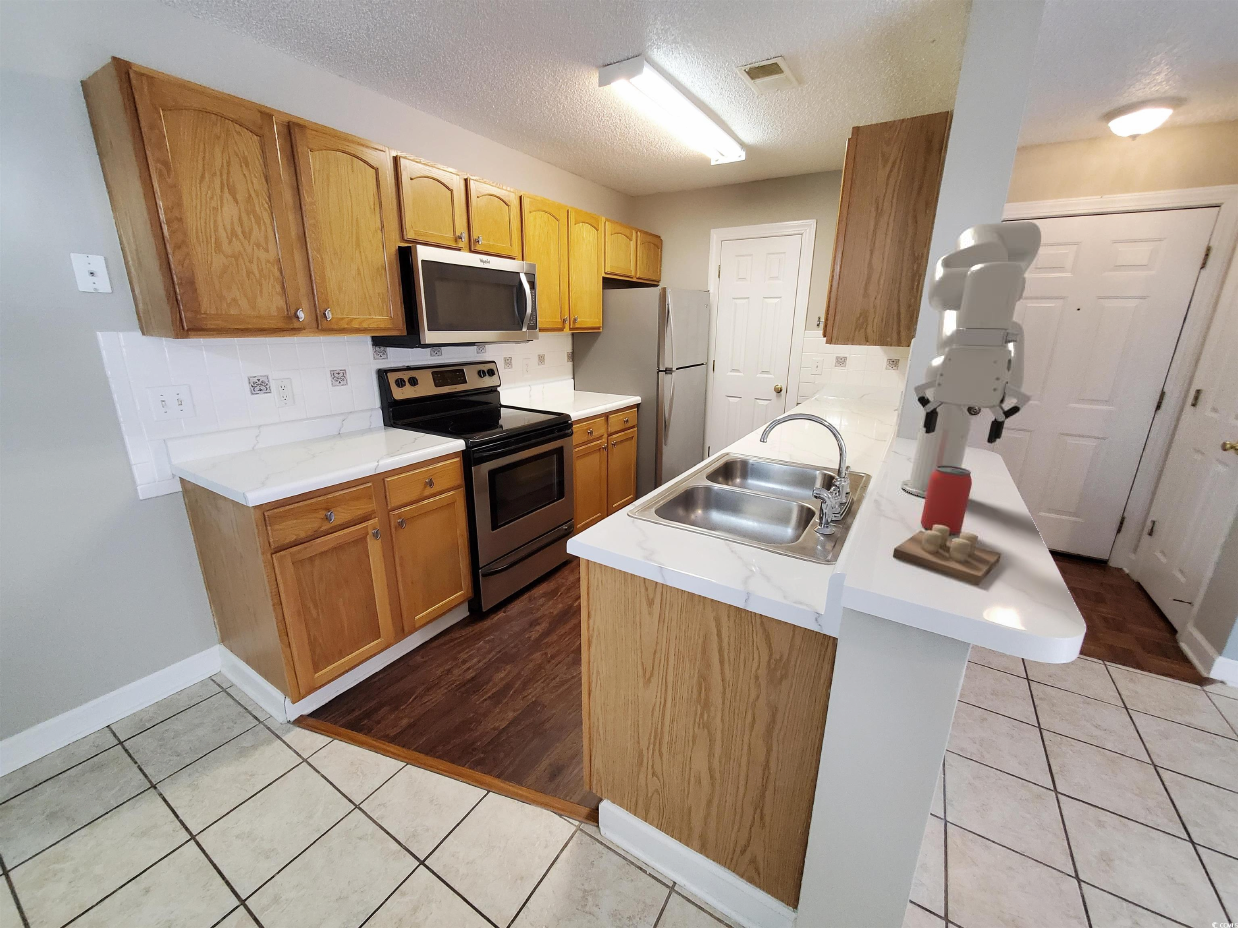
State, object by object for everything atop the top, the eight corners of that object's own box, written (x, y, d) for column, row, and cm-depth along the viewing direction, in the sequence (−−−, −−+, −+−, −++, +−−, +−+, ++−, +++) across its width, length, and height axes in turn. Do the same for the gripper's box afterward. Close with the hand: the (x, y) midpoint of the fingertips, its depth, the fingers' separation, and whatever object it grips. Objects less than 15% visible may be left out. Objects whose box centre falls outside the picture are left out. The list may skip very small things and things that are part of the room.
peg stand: (918, 538, 89) (923, 515, 88) (999, 561, 80) (1005, 536, 79) (892, 556, 81) (897, 531, 80) (978, 585, 72) (984, 557, 71)
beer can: (961, 539, 89) (975, 476, 86) (919, 530, 92) (931, 470, 89) (959, 527, 94) (973, 468, 91) (920, 520, 97) (932, 462, 94)
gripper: (1049, 342, 80) (1024, 443, 84) (931, 338, 92) (914, 427, 97) (1040, 342, 75) (1013, 449, 80) (916, 338, 88) (900, 431, 92)
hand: (959, 437), depth 88 cm, fingers open, 9 cm apart
